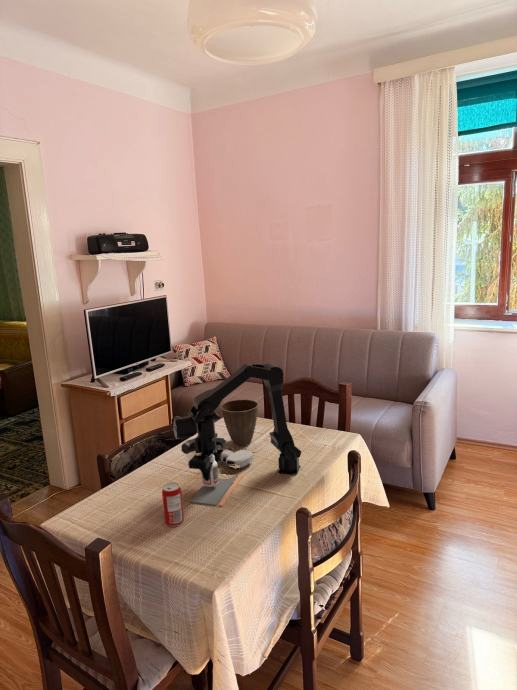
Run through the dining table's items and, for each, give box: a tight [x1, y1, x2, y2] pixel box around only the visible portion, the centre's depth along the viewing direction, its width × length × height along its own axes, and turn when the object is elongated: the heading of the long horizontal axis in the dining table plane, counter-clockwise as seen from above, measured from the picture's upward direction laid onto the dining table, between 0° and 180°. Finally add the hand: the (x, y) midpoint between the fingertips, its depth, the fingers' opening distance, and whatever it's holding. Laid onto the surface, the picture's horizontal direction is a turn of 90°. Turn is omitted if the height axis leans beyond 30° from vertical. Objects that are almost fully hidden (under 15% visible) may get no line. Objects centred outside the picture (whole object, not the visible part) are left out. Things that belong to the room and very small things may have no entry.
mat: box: [189, 474, 238, 507], centre depth 165 cm, size 9×20×1 cm, turn 163°
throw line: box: [218, 474, 244, 508], centre depth 163 cm, size 1×20×1 cm, turn 163°
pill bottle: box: [201, 454, 219, 487], centre depth 164 cm, size 5×5×10 cm
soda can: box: [161, 481, 185, 527], centre depth 145 cm, size 6×6×12 cm
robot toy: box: [219, 448, 258, 469], centre depth 182 cm, size 12×4×15 cm
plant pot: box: [220, 399, 259, 447], centre depth 199 cm, size 15×15×16 cm
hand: (210, 476), depth 164 cm, fingers closed on pill bottle, 5 cm apart
